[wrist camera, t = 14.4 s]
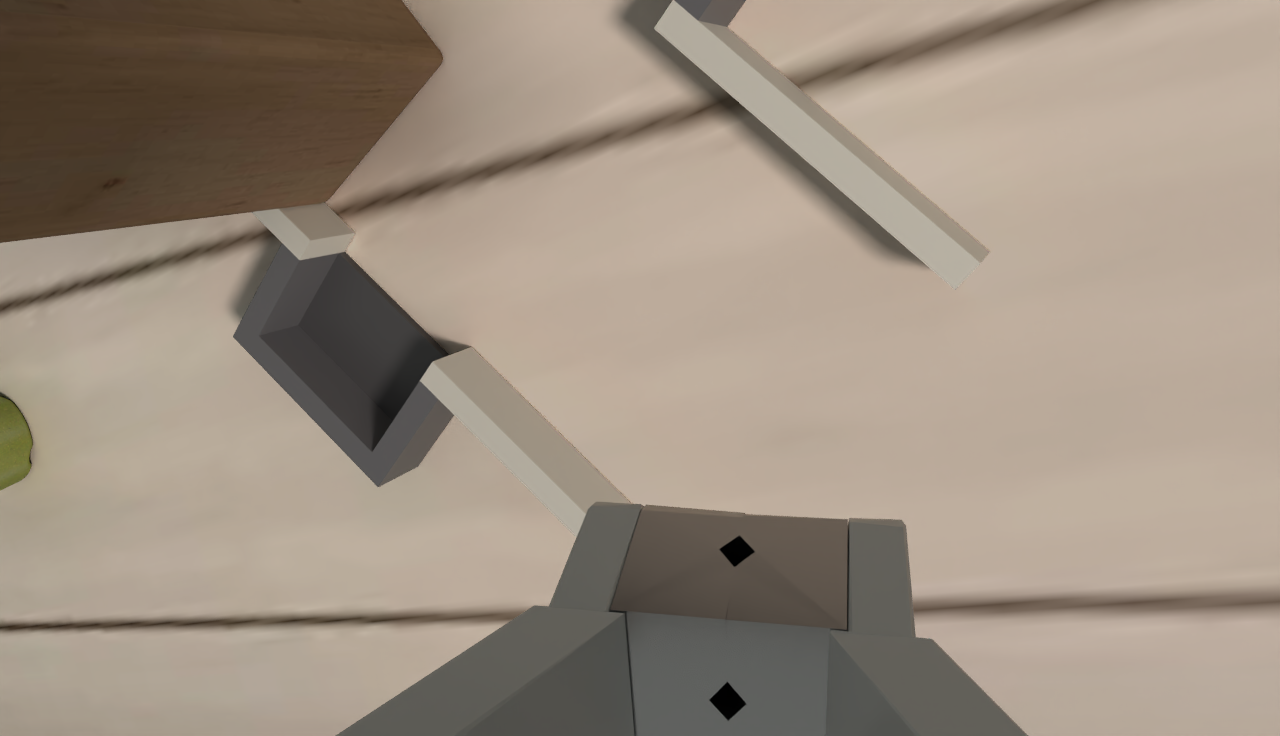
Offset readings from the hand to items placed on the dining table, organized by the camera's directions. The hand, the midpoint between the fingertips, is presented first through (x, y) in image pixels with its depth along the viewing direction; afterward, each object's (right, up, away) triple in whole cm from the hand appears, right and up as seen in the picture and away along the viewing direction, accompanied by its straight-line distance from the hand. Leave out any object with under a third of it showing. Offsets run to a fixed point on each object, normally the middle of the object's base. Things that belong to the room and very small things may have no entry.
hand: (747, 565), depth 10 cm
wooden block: (-15, +16, +36) cm, 42 cm away
